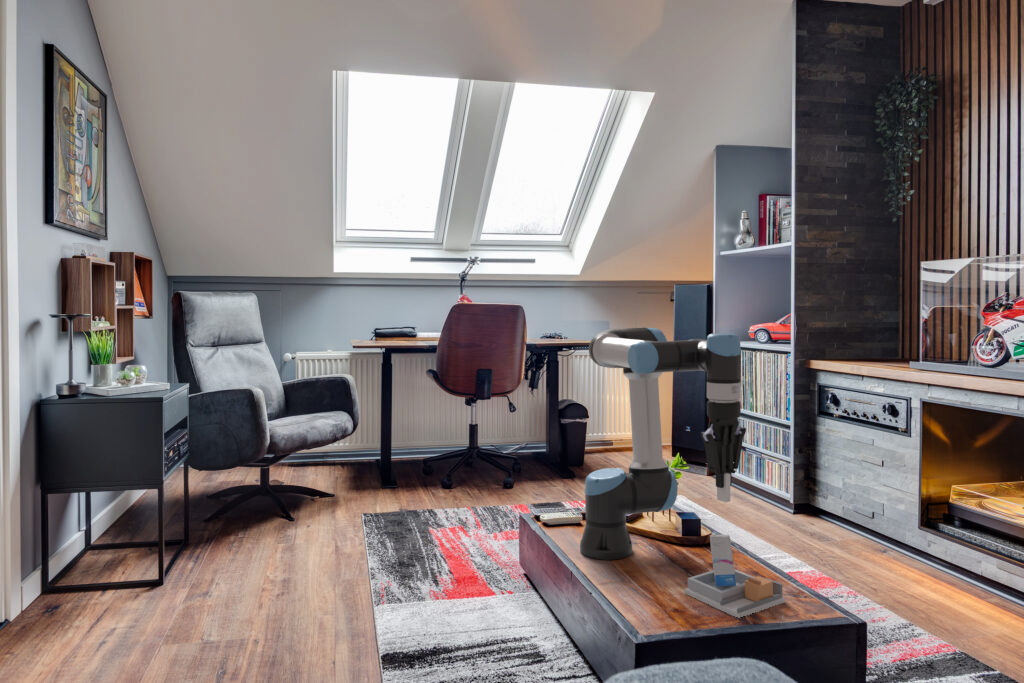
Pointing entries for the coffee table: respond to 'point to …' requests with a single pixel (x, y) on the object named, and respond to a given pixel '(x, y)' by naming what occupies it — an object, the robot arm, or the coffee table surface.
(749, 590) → the brown block
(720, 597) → the housing
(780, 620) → the coffee table surface
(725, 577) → the ink box
